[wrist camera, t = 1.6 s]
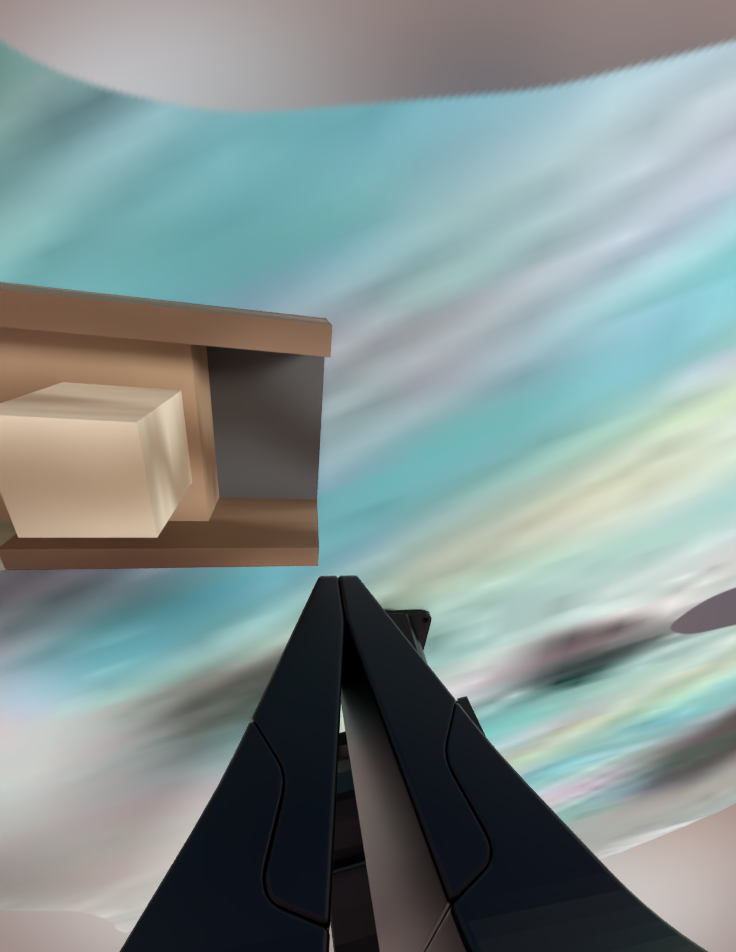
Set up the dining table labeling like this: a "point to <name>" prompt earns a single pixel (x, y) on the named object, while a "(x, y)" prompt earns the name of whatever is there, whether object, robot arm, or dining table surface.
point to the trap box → (206, 419)
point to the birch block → (93, 461)
